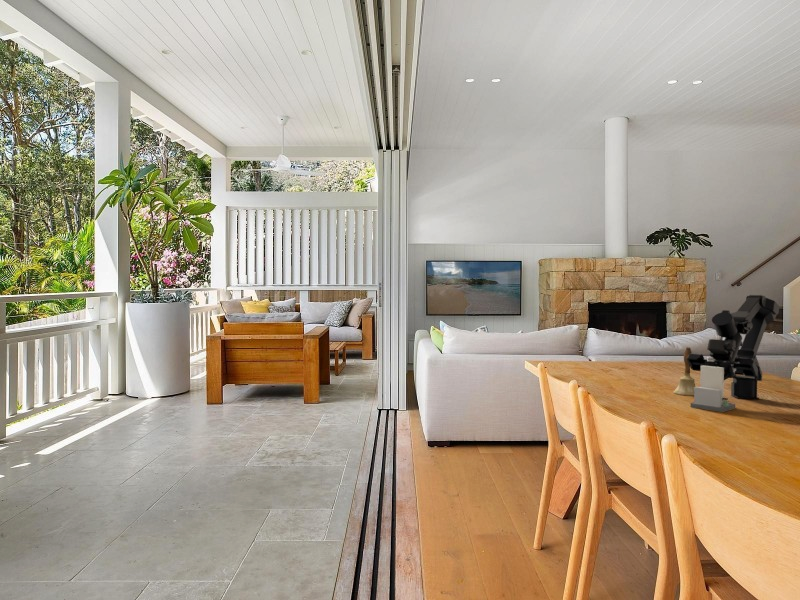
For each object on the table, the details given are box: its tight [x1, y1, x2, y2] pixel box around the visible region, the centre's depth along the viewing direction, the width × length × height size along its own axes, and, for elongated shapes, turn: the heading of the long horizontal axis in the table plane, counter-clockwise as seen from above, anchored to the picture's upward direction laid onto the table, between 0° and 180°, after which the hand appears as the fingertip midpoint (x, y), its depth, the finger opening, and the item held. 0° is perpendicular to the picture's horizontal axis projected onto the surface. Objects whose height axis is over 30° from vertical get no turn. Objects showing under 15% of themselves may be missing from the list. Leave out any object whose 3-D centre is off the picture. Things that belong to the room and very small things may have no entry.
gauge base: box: [690, 386, 736, 413], centre depth 168 cm, size 10×9×6 cm
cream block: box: [699, 365, 729, 405], centre depth 168 cm, size 2×9×11 cm, turn 40°
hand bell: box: [673, 346, 697, 397], centre depth 192 cm, size 8×8×16 cm
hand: (713, 385), depth 168 cm, fingers closed, pressing on cream block
